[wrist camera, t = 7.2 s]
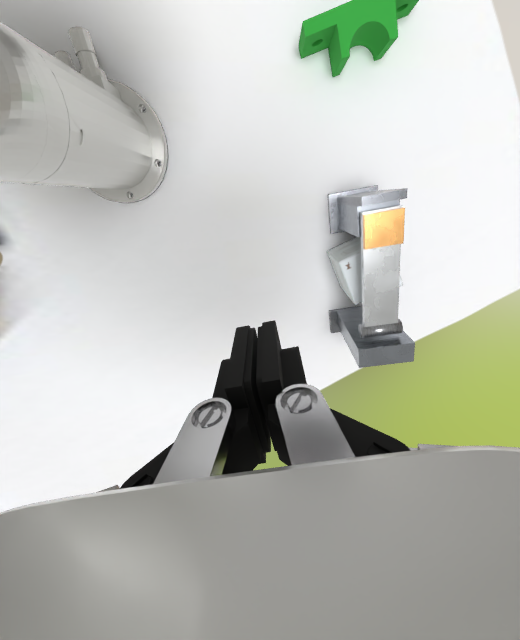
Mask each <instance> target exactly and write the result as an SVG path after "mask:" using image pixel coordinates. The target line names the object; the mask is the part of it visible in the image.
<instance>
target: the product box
mask: <svg viewBox="0 0 520 640" xmlns="http://www.w3.org/2000/svg"><path fill="white" fill-rule="evenodd" d="M327 253H328V256H329V259H330V261H331V264H332V266H333V269H334V272H335V274H336V276H337V279H338V281H339V284H340V286H341V288H342V289H343V290H344V292H345V293H346V294H347V296H348V297H349V298H350V299H351V301H352V302H353V303H354V304H355V305H357V304H359V303H361V302H362V273H361V237H355V238H353V239H351V240H349V241H347V242H345V243H343V244H341V245H339V246H337V247H335V248H333V249H331V250H329V251H327ZM402 285H403V283H402V279H401V276H400V275H399V287H400V286H402Z"/></svg>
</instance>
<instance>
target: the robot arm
mask: <svg viewBox="0 0 520 640" xmlns="http://www.w3.org/2000/svg"><path fill="white" fill-rule="evenodd" d="M68 33H69V36H70V39H71V42H72V45H73V48H74V51H75V54H76V56H77V57H78V59H79V62H80V65H81V68H82V69H81V70H80V72H77V71H76V70H75V69H74V66H73V63H72V60H71V57H70V55H69V53H67V52H65V51H57V52H55V54H54V55H55V57H54V56H53V55H51V54H49V53H48V52H46V51H45V50H43V49H42V48H40V47H39V46H37V45H36V44H34V43H32V42H31V41H29V40H28V39H26V38H25V37H23V36H22V35H20V34H19V33H17V32H16V31H14V30H12V29H11V28H9V27H8V26H6V25H5V24H3V23H1V22H0V182H7V183H22V184H37V185H54V186H71V187H88V188H89V189H91V190H92V191H93V192H94V193H96V194H98V195H99V196H101V197H103V198H105V199H108V200H111V201H115V202H121V203H129V202H136V201H140V200H142V199H145V198H146V197H148V196H149V195H151V194H152V193H153V192H154V191H155V190H156V189H157V188H158V187H159V185H160V183H161V181H162V180H163V177H164V174H165V171H166V167H167V160H168V151H167V142H166V137H165V134H164V131H163V128H162V125H161V123H160V121H159V119H158V117H157V115H156V113H155V112H154V111H153V109H152V108H151V107H150V105H149V104H148V103H147V102H146V101H145V100H144V99H143V98H142V97H141V96H140V95H139V94H138V93H136V92H135V91H134V90H132V89H131V88H129V87H127V86H126V85H124V84H122V83H120V82H116V81H113V80H110V79H107V77H106V74H105V72H104V70H102V69H100V67H99V64H98V61H97V58H96V52H95V49H94V46H93V43H92V40H91V37H90V34H89V31H87V30H86V29H84V28H82V27H73V28H70V29H69V30H68ZM145 108H146V111H145V113H144V111H143V110H144V109H145ZM159 162H161V166H159ZM131 194H133V197H132V195H131ZM270 436H271V439H272V443H273V446H274V450H275V451H277V453H278V456H279V459H280V460H281V461H282V462H284V463H285V464H286V465H288V466H284V467H277V468H269V469H262V470H254V471H253V469H254V468H255V467H256V466H257V465H258V464H261V463H266V452H270V451H271V439H270ZM0 640H520V448H516V447H502V446H445V445H429V444H418V448H408V447H407V446H406V445H405V444H403V443H402V442H400V441H398V440H397V439H395V438H392V437H390V436H388V435H386V434H384V433H382V432H380V431H378V430H375V429H373V428H371V427H369V426H367V425H365V424H363V423H360V422H358V421H356V420H354V419H352V418H350V417H348V416H345V415H343V414H341V413H339V412H337V411H335V410H332V409H330V408H329V406H328V405H327V403H326V401H325V399H324V397H323V395H322V393H321V392H320V391H319V390H318V389H317V388H316V387H314V386H311V385H308V384H307V383H306V378H305V374H304V370H303V365H302V361H301V356H300V352H299V347H292V348H287V349H281V345H280V340H279V336H278V331H277V326H276V322H275V321H269V322H264V323H262V326H261V327H258V338H257V334H256V330H255V328H250V326H243V327H238V328H236V332H235V337H234V342H233V347H232V352H231V357H230V359H226V360H222V362H221V366H220V370H219V374H218V378H217V382H216V386H215V390H214V394H213V398H211V399H208V400H205V401H203V402H201V403H199V404H198V405H196V406H195V407H194V408H193V409H192V410H191V412H190V413H189V415H188V417H187V419H186V420H185V422H184V424H183V426H182V428H181V430H180V432H179V434H178V436H177V438H176V440H175V442H174V443H173V444H171V445H170V446H169V447H168V448H166V449H165V450H164V451H162V452H161V453H160V454H159V455H157V456H156V457H155V458H154V459H152V460H151V461H150V462H149V463H147V464H146V465H145V466H144V467H142V468H141V469H140V470H138V471H137V472H136V473H135V474H133V475H132V476H131V477H130V478H129V479H128V480H127V481H126V482H125V483H124V484H123V485H122V486H121V488H119V486H118V485H116V486H113V487H110V488H107V489H105V490H102V491H99V492H96V493H90V494H83V495H77V496H71V497H65V498H59V499H54V500H49V501H43V502H38V503H33V504H29V505H25V506H21V507H17V508H13V509H10V510H7V511H4V512H1V513H0Z"/></svg>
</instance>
